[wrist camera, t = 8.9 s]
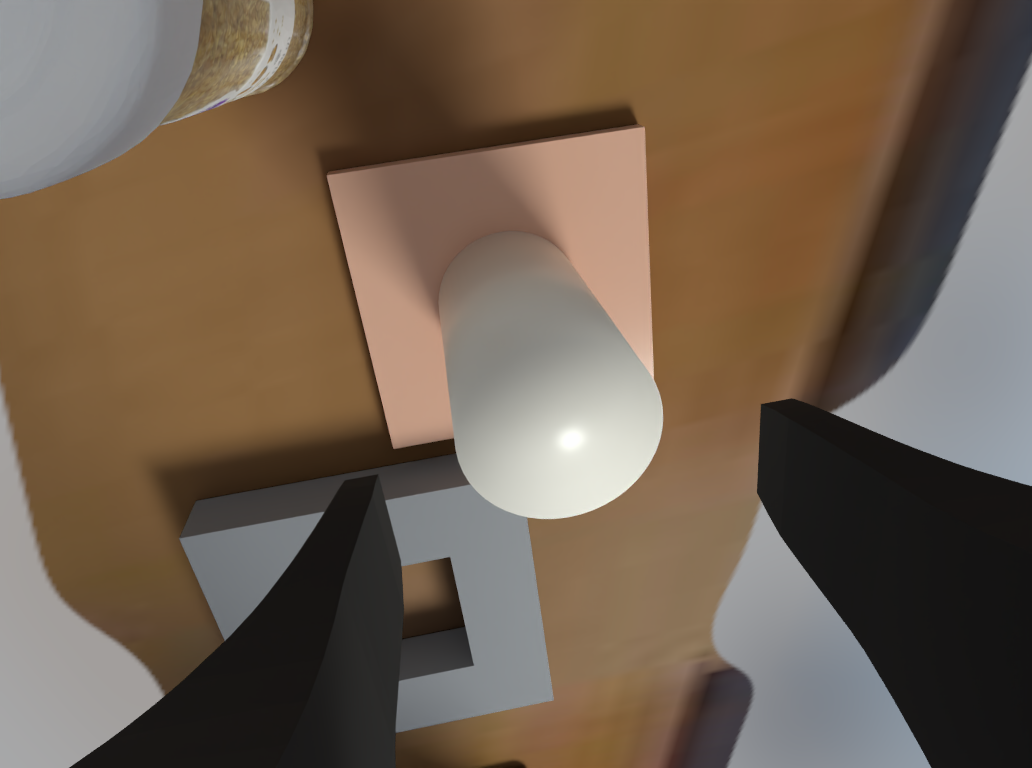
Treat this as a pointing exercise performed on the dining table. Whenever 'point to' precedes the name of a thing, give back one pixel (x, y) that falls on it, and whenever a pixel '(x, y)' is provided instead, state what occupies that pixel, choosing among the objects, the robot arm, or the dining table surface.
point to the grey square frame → (420, 537)
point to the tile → (470, 216)
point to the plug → (541, 381)
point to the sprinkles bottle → (127, 74)
